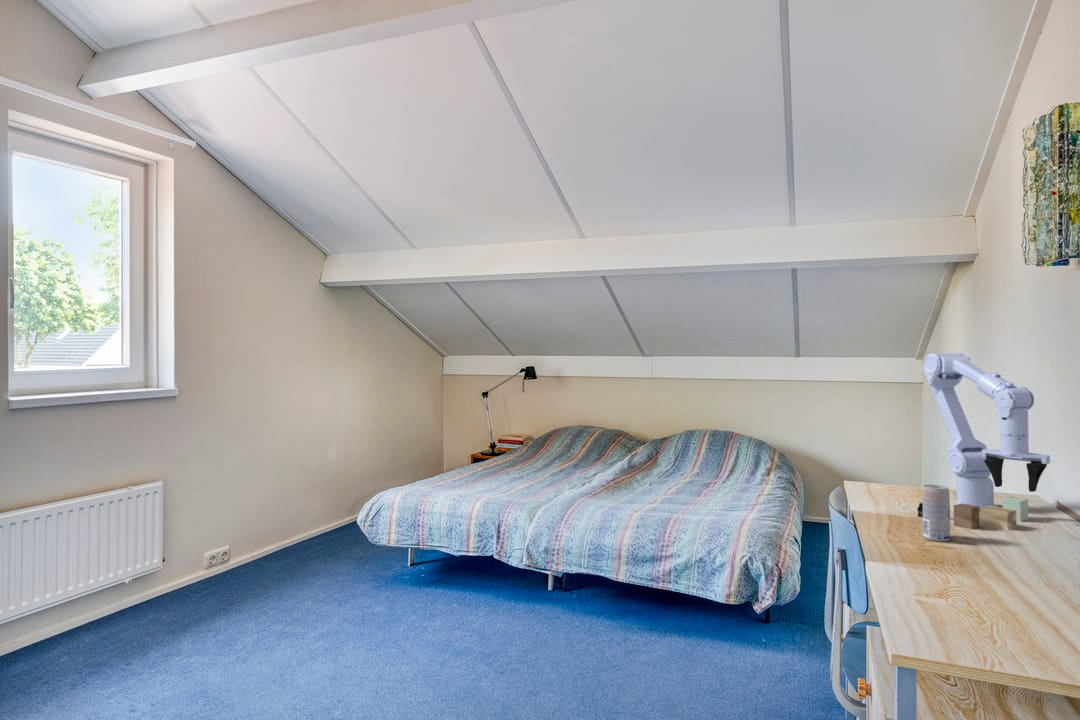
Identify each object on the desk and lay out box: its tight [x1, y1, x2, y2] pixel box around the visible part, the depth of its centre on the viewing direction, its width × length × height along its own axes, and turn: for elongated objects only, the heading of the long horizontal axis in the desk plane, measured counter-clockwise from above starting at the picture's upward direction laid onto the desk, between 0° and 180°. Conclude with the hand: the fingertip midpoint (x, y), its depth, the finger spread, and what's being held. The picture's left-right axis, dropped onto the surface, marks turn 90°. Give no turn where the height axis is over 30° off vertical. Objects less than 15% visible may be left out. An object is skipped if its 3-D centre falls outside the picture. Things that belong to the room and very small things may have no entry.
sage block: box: [1001, 496, 1029, 522], centre depth 168 cm, size 4×4×6 cm
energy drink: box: [922, 484, 951, 543], centre depth 153 cm, size 5×5×12 cm
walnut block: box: [953, 503, 981, 530], centre depth 162 cm, size 4×4×6 cm
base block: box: [980, 506, 1018, 531], centre depth 161 cm, size 4×6×4 cm
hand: (1015, 488), depth 168 cm, fingers open, 7 cm apart
